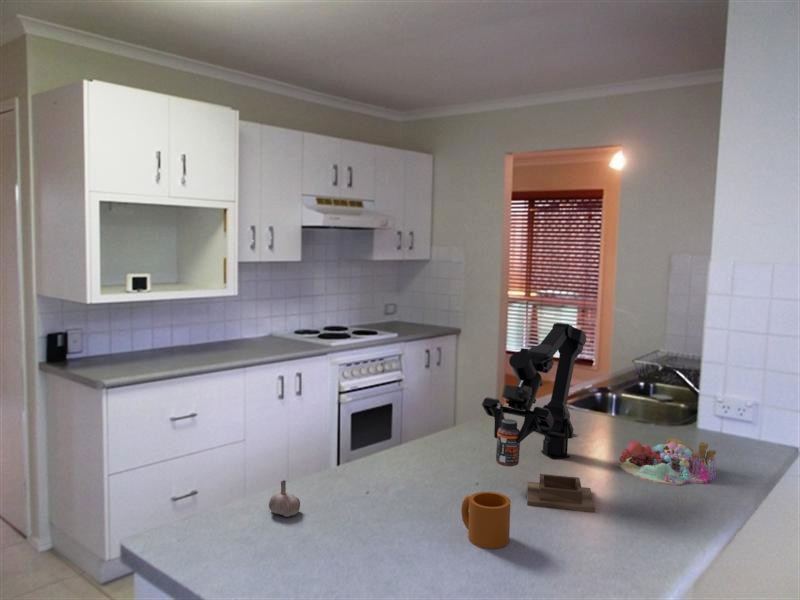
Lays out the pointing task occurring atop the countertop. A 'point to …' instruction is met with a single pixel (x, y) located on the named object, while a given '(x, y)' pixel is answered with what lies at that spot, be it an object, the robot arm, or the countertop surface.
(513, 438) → the supplement bottle
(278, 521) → the countertop surface
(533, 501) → the bottle stand
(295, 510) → the garlic bulb
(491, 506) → the mug
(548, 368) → the robot arm
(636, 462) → the coral reef model
